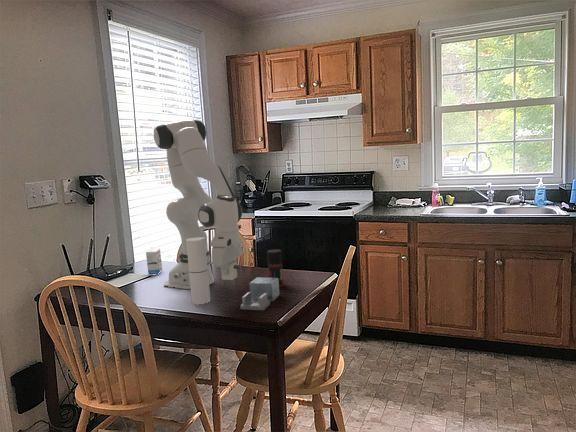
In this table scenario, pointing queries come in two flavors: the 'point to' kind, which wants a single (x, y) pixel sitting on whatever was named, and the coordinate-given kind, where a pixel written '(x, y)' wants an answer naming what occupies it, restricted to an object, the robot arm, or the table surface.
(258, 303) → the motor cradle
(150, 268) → the ink box
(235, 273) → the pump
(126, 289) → the table surface
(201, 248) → the cylindrical container
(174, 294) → the table surface
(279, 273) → the deodorant
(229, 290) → the table surface
